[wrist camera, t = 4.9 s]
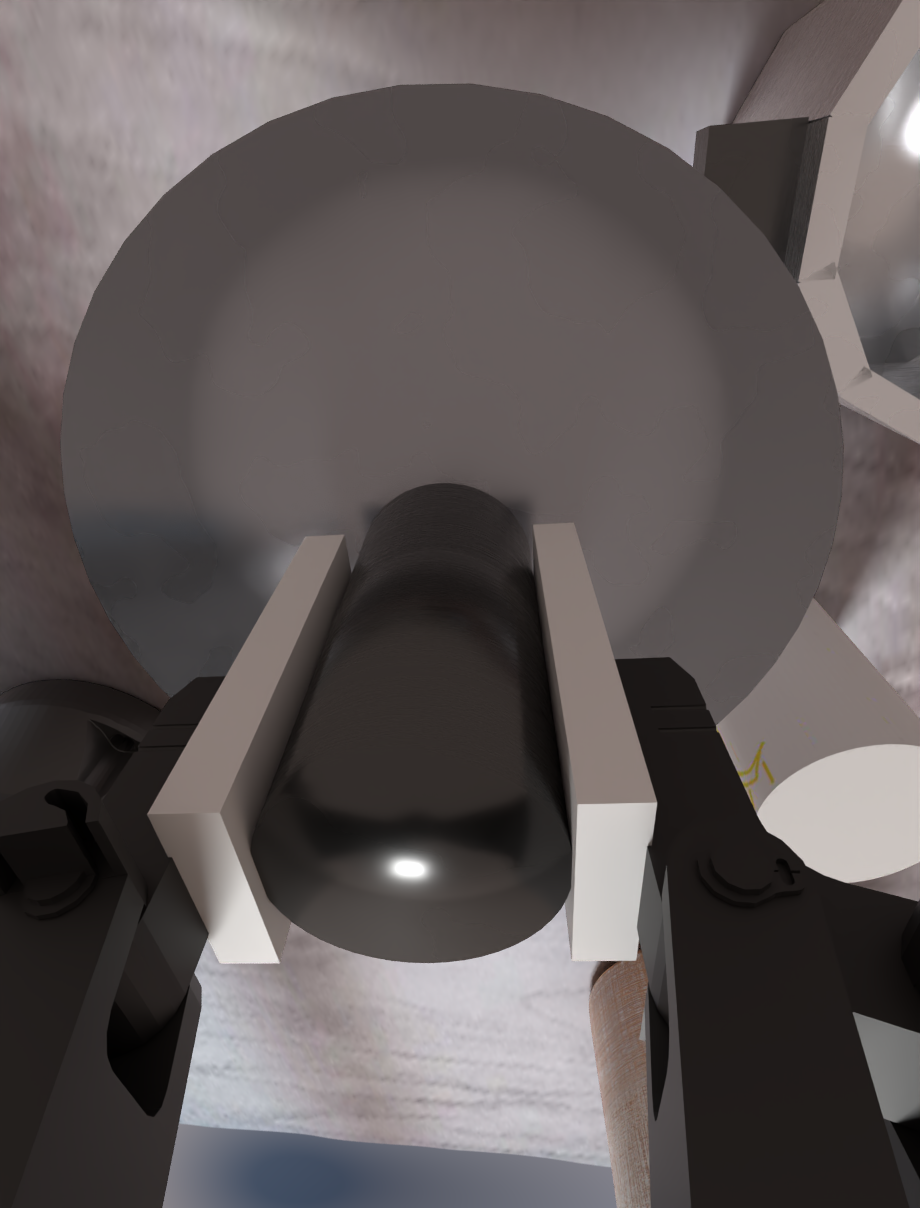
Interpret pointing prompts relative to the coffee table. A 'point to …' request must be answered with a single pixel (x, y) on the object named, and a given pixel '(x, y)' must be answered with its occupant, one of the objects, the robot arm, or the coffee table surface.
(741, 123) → the pot
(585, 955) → the robot arm
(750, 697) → the beige cylinder
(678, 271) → the lid
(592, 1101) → the coffee table surface
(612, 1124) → the planter
